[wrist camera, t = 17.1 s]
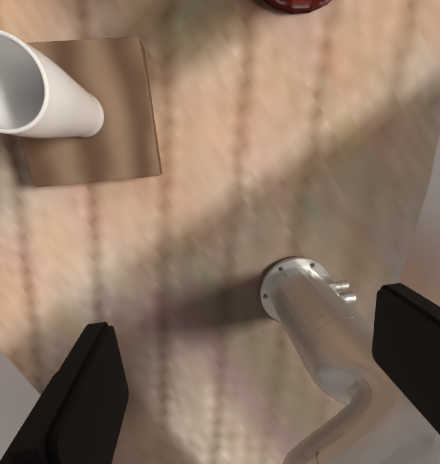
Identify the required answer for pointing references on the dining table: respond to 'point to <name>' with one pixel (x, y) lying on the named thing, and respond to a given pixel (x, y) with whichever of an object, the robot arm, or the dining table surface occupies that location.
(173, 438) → the dining table surface
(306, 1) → the hourglass
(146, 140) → the walnut block
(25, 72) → the white tapered cylinder
